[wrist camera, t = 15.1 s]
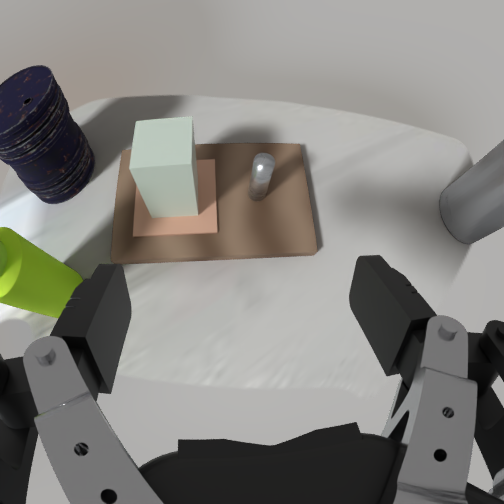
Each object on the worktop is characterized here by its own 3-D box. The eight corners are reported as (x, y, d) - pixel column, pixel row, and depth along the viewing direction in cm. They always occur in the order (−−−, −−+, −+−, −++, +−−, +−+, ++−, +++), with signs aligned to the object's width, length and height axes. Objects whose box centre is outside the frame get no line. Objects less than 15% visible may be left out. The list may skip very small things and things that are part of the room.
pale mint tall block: (197, 174, 34) (192, 116, 25) (198, 215, 33) (191, 163, 23) (154, 177, 34) (135, 121, 24) (152, 218, 32) (129, 168, 23)
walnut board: (297, 150, 39) (299, 143, 37) (313, 255, 35) (317, 251, 33) (124, 156, 36) (122, 150, 35) (115, 264, 32) (110, 260, 31)
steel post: (264, 185, 35) (273, 152, 29) (266, 201, 34) (276, 170, 28) (247, 185, 35) (252, 152, 29) (248, 201, 34) (254, 170, 28)
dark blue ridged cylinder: (21, 191, 33) (-37, 130, 19) (59, 135, 36) (18, 63, 22) (69, 215, 33) (7, 147, 19) (109, 151, 36) (72, 67, 22)
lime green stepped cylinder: (44, 261, 31) (-69, 185, 12) (91, 273, 32) (-21, 192, 13) (32, 309, 29) (-94, 263, 10) (79, 325, 30) (-51, 289, 11)
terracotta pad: (214, 160, 35) (214, 159, 35) (217, 232, 33) (217, 231, 33) (139, 165, 34) (138, 163, 34) (133, 237, 32) (132, 236, 31)
